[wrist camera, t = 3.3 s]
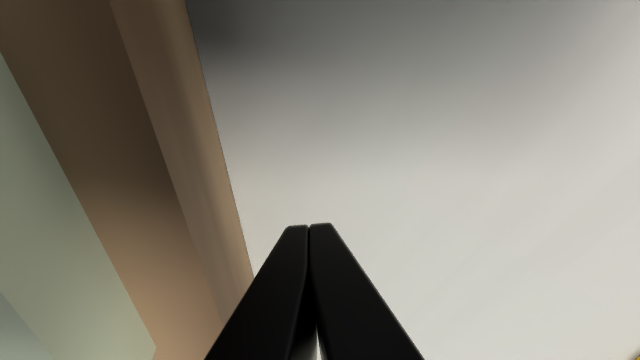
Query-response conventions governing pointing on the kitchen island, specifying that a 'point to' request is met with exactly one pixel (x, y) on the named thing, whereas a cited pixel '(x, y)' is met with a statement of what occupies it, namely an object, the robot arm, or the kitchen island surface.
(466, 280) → the kitchen island surface
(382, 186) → the kitchen island surface
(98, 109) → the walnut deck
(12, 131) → the sage tile
